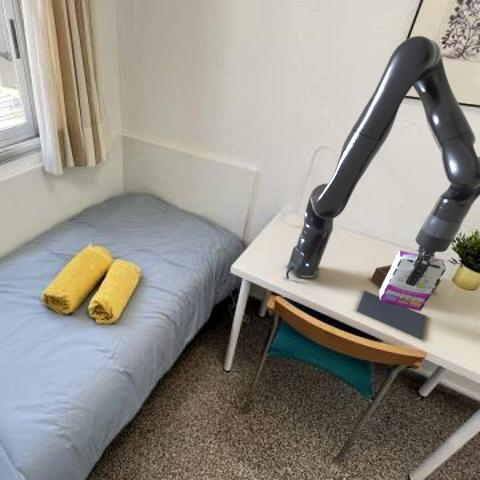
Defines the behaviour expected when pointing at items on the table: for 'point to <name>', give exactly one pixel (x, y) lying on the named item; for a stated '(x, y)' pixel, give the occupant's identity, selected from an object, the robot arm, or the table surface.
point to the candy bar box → (404, 293)
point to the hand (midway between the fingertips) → (411, 278)
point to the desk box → (381, 275)
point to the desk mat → (392, 315)
